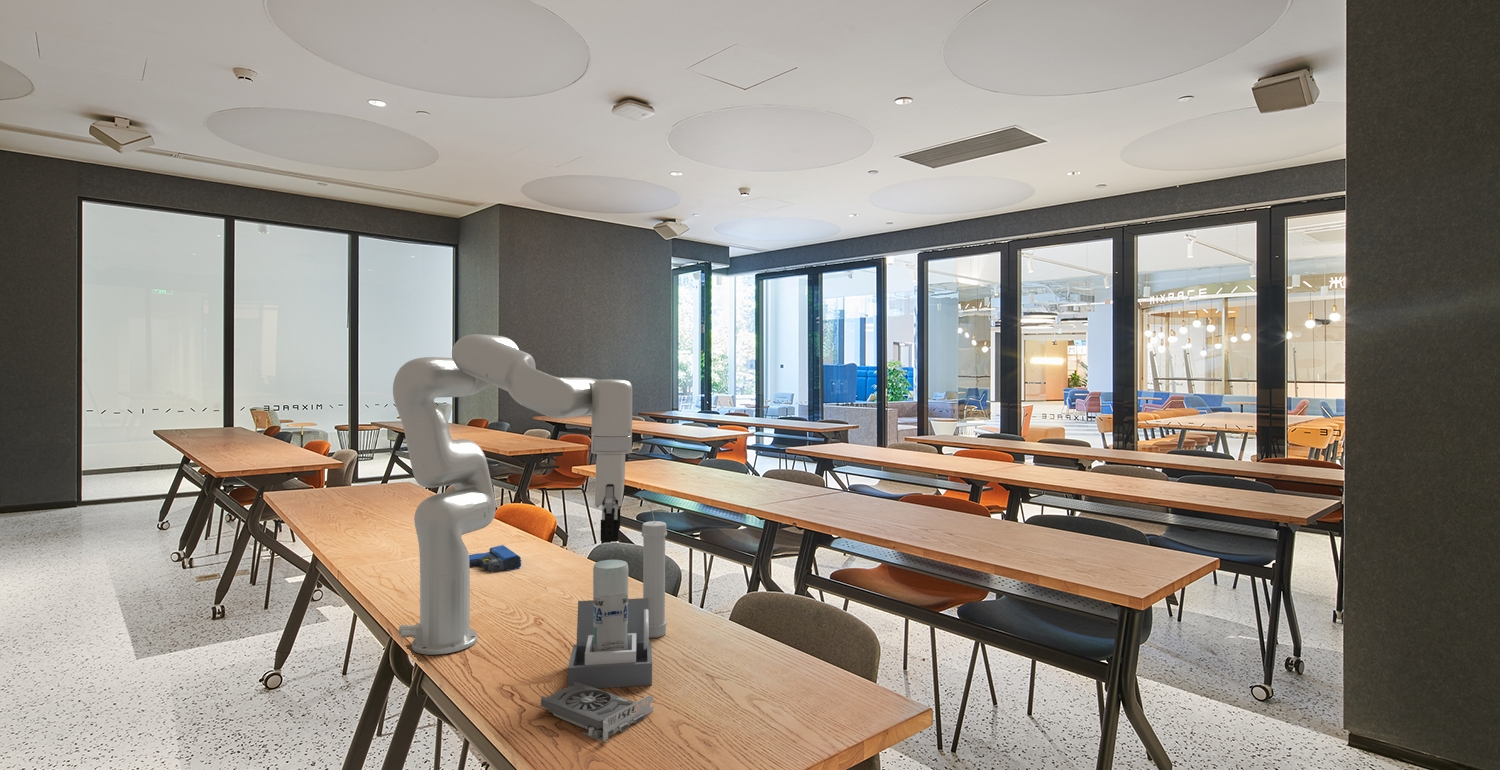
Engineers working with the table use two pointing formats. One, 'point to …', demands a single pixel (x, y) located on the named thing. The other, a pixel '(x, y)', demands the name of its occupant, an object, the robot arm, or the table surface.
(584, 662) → the case
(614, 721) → the graphics card
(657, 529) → the pipe
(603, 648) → the spray paint can
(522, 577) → the table surface
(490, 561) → the stun gun
